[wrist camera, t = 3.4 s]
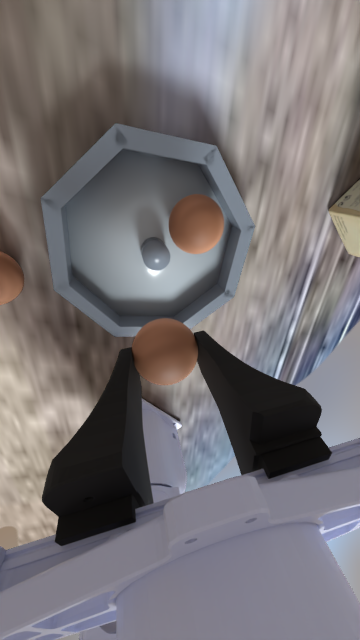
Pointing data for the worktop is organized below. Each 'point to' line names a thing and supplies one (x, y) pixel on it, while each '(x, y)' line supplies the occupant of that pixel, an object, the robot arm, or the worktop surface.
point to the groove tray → (142, 231)
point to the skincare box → (348, 219)
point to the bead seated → (196, 224)
